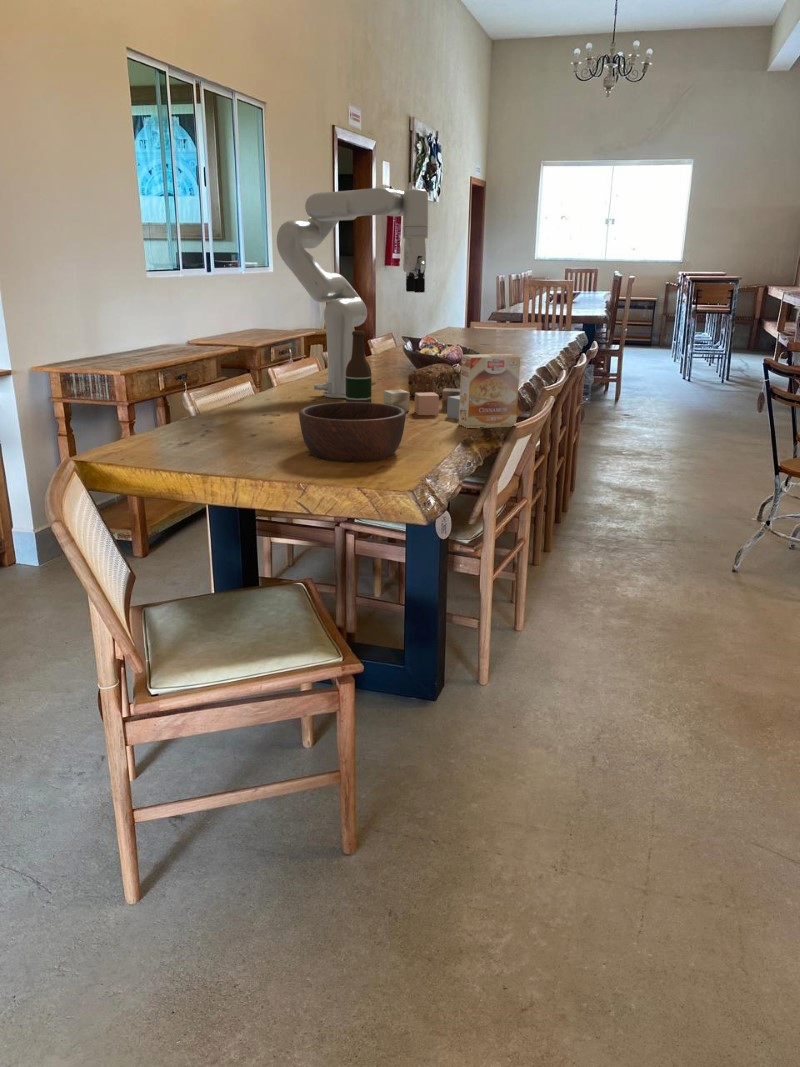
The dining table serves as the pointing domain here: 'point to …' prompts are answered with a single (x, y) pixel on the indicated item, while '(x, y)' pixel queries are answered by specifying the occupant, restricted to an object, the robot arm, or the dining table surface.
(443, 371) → the bread
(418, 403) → the terracotta block
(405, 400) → the beech block
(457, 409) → the slate block
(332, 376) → the robot arm
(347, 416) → the wooden bowl
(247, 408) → the dining table surface
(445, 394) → the walnut block
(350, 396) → the beer bottle
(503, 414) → the coffeecake box
